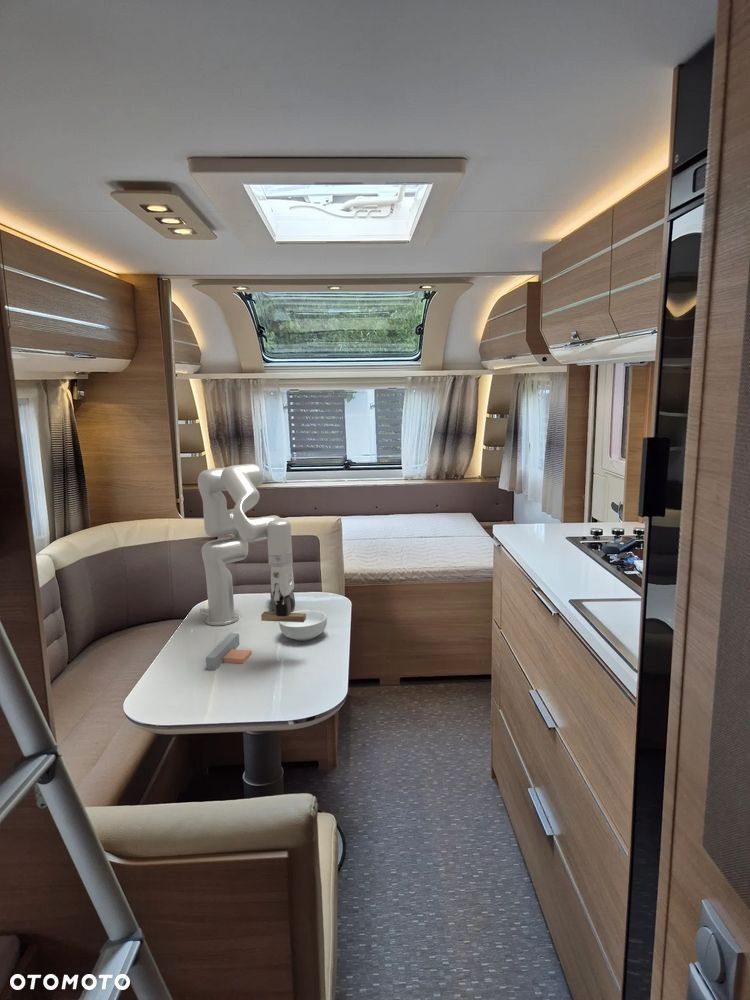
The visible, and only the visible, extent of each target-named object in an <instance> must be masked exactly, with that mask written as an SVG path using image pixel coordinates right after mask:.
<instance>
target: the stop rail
mask: <svg viewBox="0 0 750 1000" xmlns="http://www.w3.org/2000/svg"><path fill="white" fill-rule="evenodd" d="M239 645H240V635H239V633H237V632H235V633H234V632H231V633H229V634H228V635H227V636H226V637H225V638H224V639H223V640H221V642H220V643H219V644H218V645H217V646H216V647H215V648H214V649H212V651H210V653H208V655H206V657H205V665H206V670H210V671H211V670H212V671H216V670H217V669H218V668H219V667H220V666H221V665H222V664H223V657H224V656H225V655H226V654H227V653H228V652H229V651H230V650H231V649H237V648H238V647H239Z"/></svg>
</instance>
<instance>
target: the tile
mask: <svg viewBox="0 0 750 1000" xmlns="http://www.w3.org/2000/svg"><path fill="white" fill-rule="evenodd" d="M252 655H253V650H252V649H237V648H236V649H231V650H230V651H229V652H228V653H227V654H226V655H225V656H224V657H223V663H225V664H226V663H227V664H245V663H246V662H247V660H249V658H250V657H251V656H252ZM223 663H222V664H223Z"/></svg>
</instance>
